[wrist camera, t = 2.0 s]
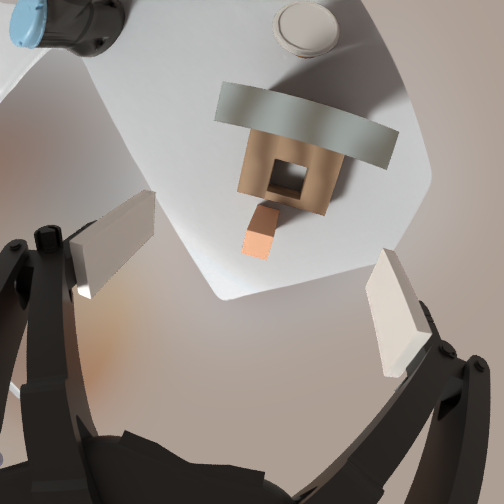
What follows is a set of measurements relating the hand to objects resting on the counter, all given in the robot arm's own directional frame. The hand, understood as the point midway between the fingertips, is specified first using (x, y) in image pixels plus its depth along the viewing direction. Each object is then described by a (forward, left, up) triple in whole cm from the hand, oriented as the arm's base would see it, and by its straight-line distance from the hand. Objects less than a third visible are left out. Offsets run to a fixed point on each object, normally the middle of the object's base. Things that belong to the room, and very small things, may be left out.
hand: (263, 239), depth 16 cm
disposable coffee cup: (-2, +20, -39) cm, 44 cm away
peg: (-1, -15, -39) cm, 42 cm away
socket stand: (+1, -1, -39) cm, 39 cm away
